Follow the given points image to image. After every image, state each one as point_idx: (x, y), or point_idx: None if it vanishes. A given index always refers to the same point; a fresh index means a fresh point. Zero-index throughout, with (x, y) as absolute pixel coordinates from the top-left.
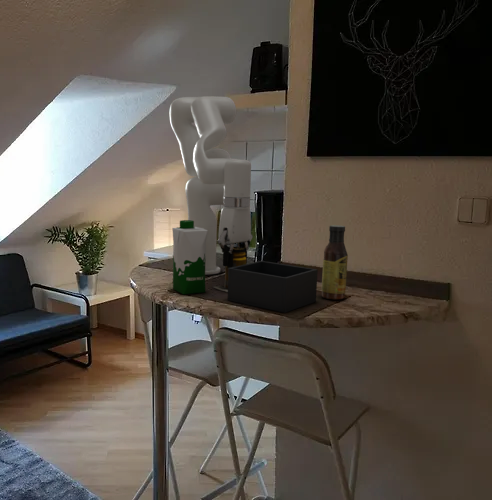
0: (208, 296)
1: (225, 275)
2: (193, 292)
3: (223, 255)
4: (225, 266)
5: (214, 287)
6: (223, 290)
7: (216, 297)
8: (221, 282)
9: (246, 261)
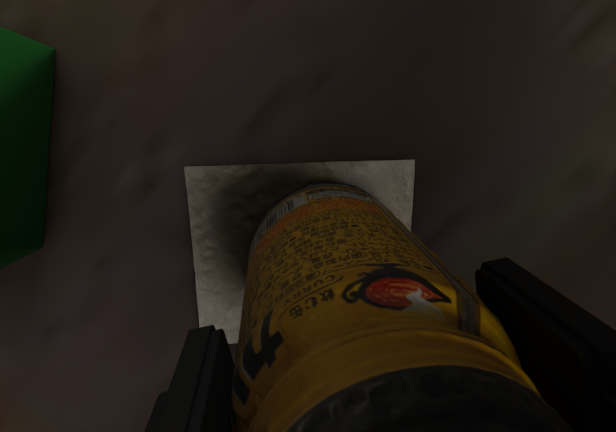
0: (4, 339)
1: (252, 266)
2: None
3: (163, 421)
4: (251, 298)
5: (186, 180)
6: (198, 275)
7: (42, 383)
8: (385, 33)
9: None
